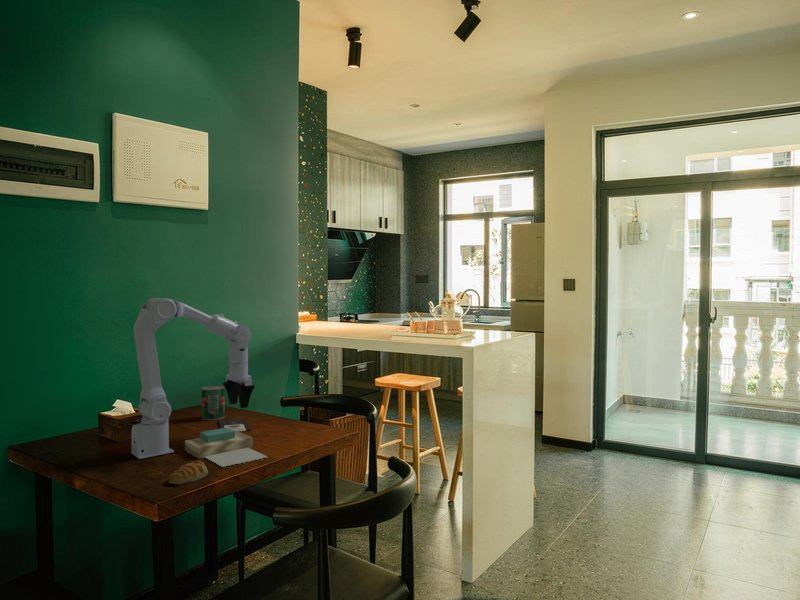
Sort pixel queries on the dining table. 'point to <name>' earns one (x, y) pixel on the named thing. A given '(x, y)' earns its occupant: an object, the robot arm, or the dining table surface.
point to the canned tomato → (213, 402)
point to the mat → (235, 457)
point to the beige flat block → (218, 445)
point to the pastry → (188, 473)
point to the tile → (217, 435)
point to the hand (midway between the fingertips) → (238, 405)
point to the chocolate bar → (234, 424)
